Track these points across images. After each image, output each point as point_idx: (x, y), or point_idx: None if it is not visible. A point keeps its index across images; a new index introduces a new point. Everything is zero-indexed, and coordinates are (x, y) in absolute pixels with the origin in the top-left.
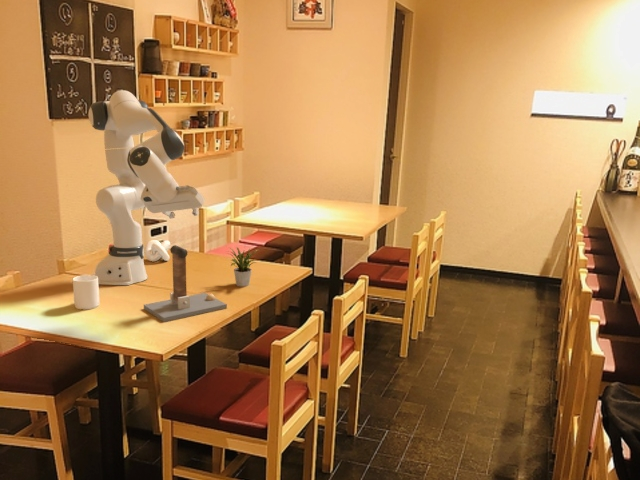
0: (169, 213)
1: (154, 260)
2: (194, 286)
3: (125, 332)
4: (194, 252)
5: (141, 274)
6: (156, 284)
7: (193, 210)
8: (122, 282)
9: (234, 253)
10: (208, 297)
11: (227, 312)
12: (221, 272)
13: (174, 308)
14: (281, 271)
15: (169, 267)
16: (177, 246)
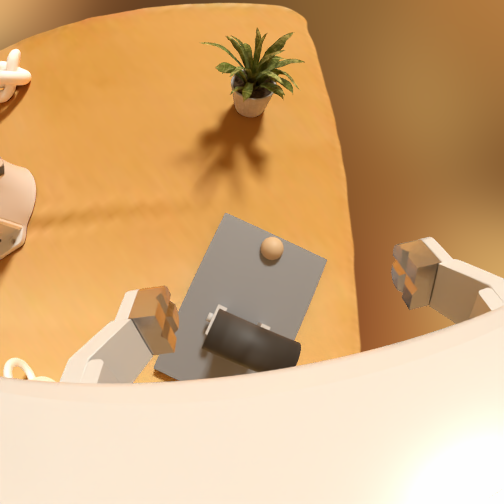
0: (137, 345)
1: (10, 97)
2: (155, 165)
3: None
4: (58, 28)
5: (24, 195)
6: (69, 200)
7: (421, 284)
8: (12, 246)
9: (231, 55)
10: (274, 257)
11: (341, 284)
12: (158, 67)
13: None
14: (265, 25)
15: (45, 101)
16: (238, 341)
